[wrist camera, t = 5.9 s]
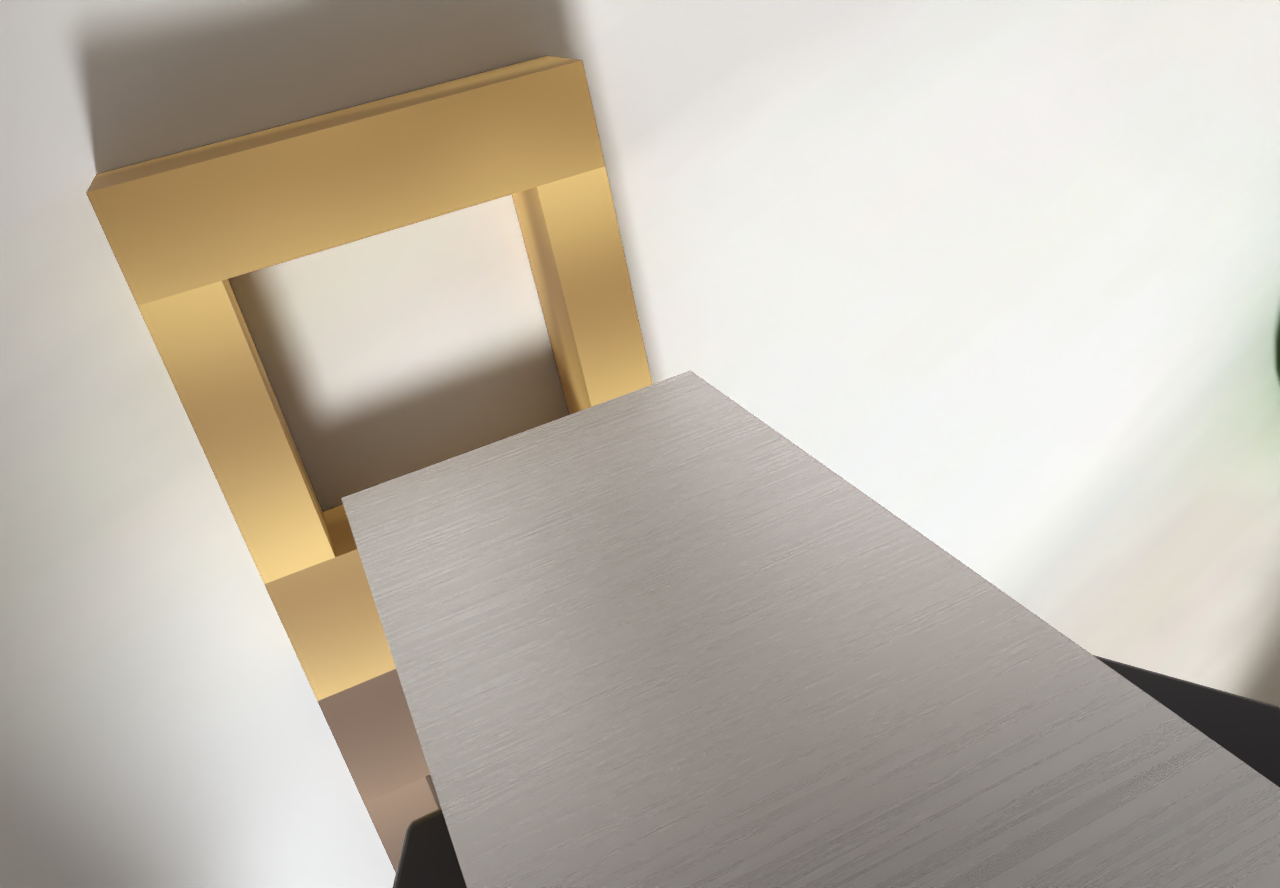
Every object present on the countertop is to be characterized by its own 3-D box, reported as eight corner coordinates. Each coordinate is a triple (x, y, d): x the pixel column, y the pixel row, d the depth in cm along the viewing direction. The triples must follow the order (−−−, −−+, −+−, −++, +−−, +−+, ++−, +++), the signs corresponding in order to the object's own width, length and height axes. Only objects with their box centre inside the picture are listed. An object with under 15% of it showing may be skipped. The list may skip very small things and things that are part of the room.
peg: (744, 647, 13) (1513, 1519, 6) (452, 779, 12) (901, 2069, 5) (690, 370, 11) (1720, 1099, 4) (341, 497, 10) (781, 1860, 3)
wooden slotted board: (721, 814, 28) (756, 866, 26) (443, 952, 26) (461, 1018, 24) (546, 56, 19) (582, 59, 17) (96, 174, 17) (85, 192, 15)
